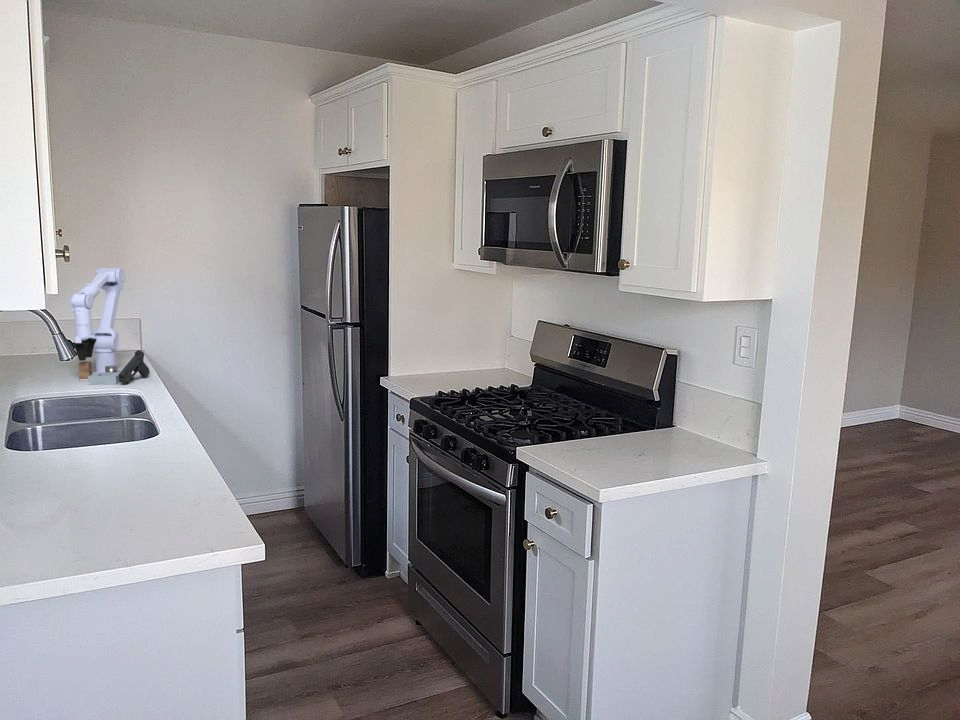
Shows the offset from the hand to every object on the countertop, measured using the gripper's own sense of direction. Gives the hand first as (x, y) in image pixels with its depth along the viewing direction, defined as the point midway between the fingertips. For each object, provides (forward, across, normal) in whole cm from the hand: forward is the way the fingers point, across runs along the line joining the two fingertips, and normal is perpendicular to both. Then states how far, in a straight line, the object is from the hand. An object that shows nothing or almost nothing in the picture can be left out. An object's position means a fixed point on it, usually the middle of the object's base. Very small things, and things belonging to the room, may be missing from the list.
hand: (85, 358), depth 296 cm
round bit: (+8, +2, -9) cm, 12 cm away
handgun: (+9, -4, -19) cm, 21 cm away
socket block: (+8, -6, -8) cm, 13 cm away
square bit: (+8, 0, 0) cm, 8 cm away
